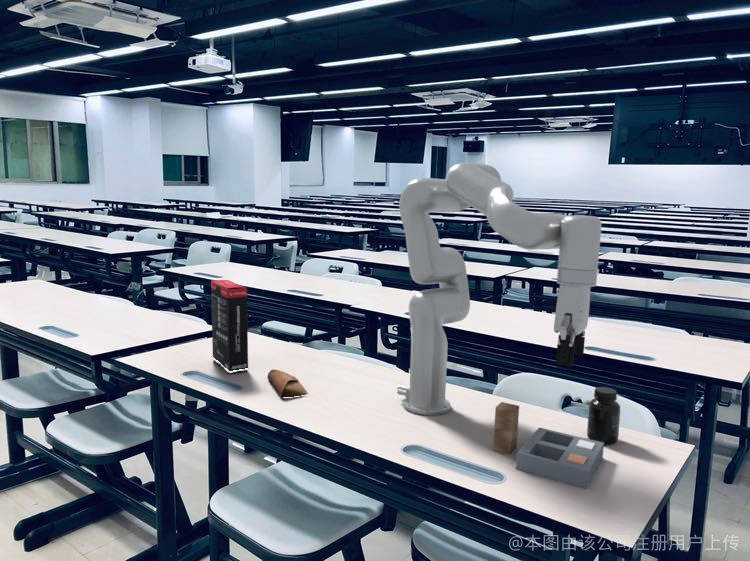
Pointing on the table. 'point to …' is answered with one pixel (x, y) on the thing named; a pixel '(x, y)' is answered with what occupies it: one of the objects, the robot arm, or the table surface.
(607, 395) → the supplement bottle
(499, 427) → the plug
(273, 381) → the sunglasses case
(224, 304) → the graphics card box
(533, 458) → the socket block
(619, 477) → the table surface
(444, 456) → the table surface
